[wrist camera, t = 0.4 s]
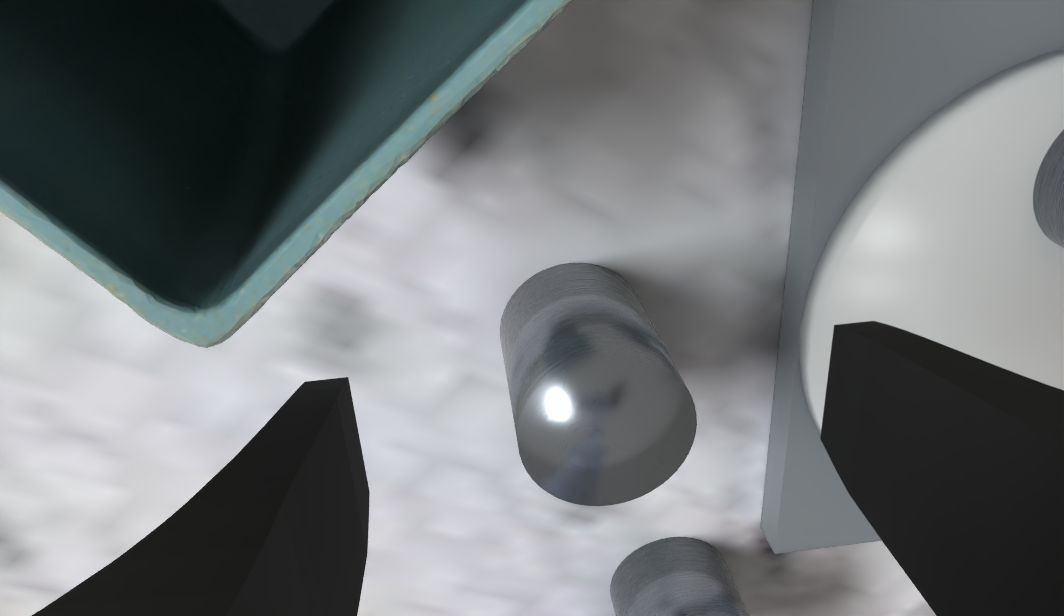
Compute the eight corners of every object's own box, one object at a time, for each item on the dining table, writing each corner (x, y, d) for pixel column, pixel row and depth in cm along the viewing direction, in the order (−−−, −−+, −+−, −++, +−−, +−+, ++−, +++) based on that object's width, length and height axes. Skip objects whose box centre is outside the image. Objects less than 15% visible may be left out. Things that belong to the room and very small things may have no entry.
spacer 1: (642, 383, 23) (693, 495, 18) (505, 398, 23) (523, 515, 18) (643, 256, 21) (700, 345, 17) (495, 270, 21) (512, 365, 16)
